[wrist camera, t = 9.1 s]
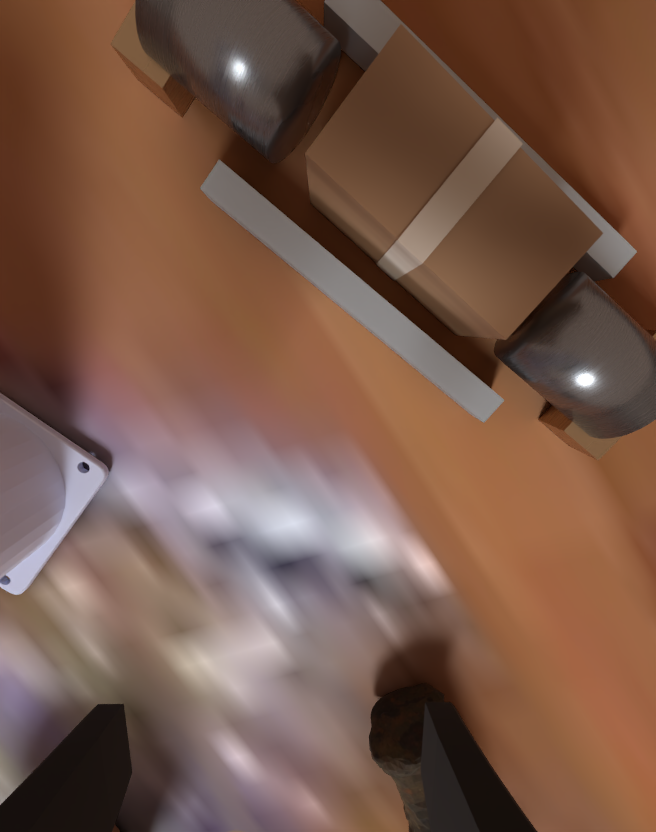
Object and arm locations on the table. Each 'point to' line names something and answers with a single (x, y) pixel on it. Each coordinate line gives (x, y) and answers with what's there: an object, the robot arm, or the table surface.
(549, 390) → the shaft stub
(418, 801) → the dark brown rough bar
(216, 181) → the cradle
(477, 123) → the block
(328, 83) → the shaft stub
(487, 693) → the table surface
